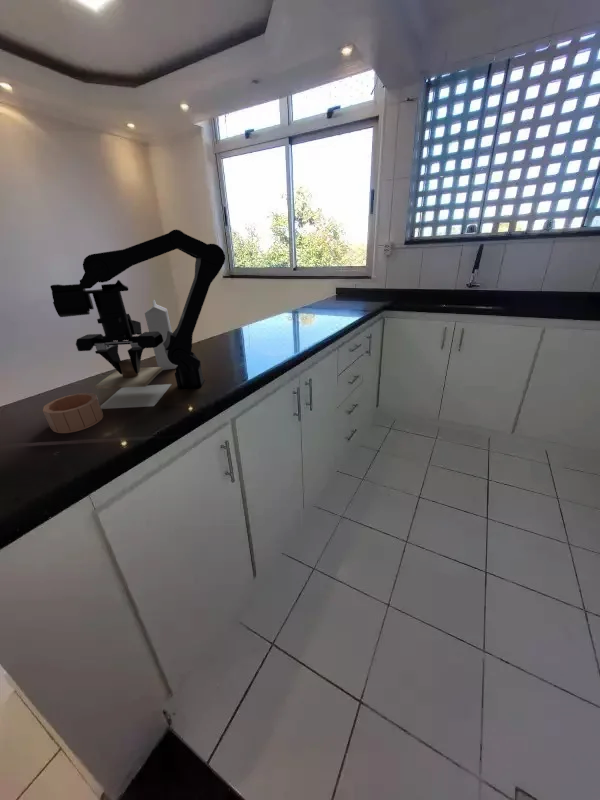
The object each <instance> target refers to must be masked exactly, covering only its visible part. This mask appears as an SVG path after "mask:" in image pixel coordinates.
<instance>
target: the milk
mask: <svg viewBox="0 0 600 800" xmlns="http://www.w3.org/2000/svg"><path fill="white" fill-rule="evenodd" d="M151 302H152V306H151V307H149V309H147V310H146V311H145V312H144V317H145V320H146V325H147V328H148V329H147V330H148V332H156V331H158V332H159V333H160V334H161V335H162V337H163V342H162V343H161V344H160V345H158V346H157V347H154V348H152V349H153V353H154V357H155V360H156V365H157V367H162V368H163V370H162V371H166V370H175V368H176V367H177V366H178V365H175V364H172V363H171V362H170V361H169V359H168V357H167V355H166V353H165V347H164V345H163V343H164V342H165V341H166V338H167V332H168V331H170V332H172V333H173V328H172V324H171V321H170V320H171V319H170V317H169V316H170V315H169V311H168V308H166V307H164V306H161V305H160V304H157V302H156V299H153V300H152V301H151Z"/></svg>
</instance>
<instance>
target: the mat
mask: <svg viewBox="0 0 600 800" xmlns="http://www.w3.org/2000/svg"><path fill="white" fill-rule="evenodd" d="M171 386H172V383H168V384H167V383H165V384H151V385H150V384H148V385H147V386H146V387H127V388H119V389H118V390H117V391H116V392H115V393H114V394H113V395H111V396H110V397H109V398H108V399H106V401H104V403H102V404H100V406H101V409H102V410H106V409H107V410H108V409H126V408H143V407H145V408H146V407H155V405H157V403H158V402H159V401H160V399H161V398H162V397H163V396H164V394H165V393H166V392H167V391H168V390H169V388H170V387H171Z"/></svg>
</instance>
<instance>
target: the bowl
mask: <svg viewBox="0 0 600 800" xmlns="http://www.w3.org/2000/svg"><path fill="white" fill-rule="evenodd" d="M42 412H43V414H44V417H45V419H46V421H47V423H48V425H49V427H50V429H51V430H52V431H53V432H54V433H58V434H69V433H75V432H79V431H83V430H85V429H88V428H90V427H93V426H94V425H96V424H97V423H99V422H101V420H103V418H104V413H103V409H101V404H100V402H99V399H98V396H97V394H96V393H91V392H82V393H81V392H79V393H74V394H69V395H65V396H61V397H59V398H57V399H54V400H51V401H50V402H48V403H47V404H45V405H44V406H43V409H42Z"/></svg>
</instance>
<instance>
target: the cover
mask: <svg viewBox="0 0 600 800" xmlns="http://www.w3.org/2000/svg"><path fill="white" fill-rule="evenodd" d="M120 360H121V361H119V365H120V369H121V372H122V374H120V373H119V372H118V371H117V370H116V369H115V370H114V372H112V373H111V374H110V375H108V376H107V377H105V378H104V379H102V380H101V381H99V382H98V383H96V384H95V385H94V388H95V389H96V390H101V389H121V388H127V387H146V386H147V385H150V383H151V382H152V381H153V380H154V379H155V378H156V377H157V376H158V375H159V374H160V373H161V372H162V371H164V370H163V368H162V367H158V366H155V367H153V366H152V367H149V366H148V367H140V371H139V373H138V374H136V372H135V370H134V368H133V365H132V362H131V359H130V358H126V359H123V360H122V359H120Z"/></svg>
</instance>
